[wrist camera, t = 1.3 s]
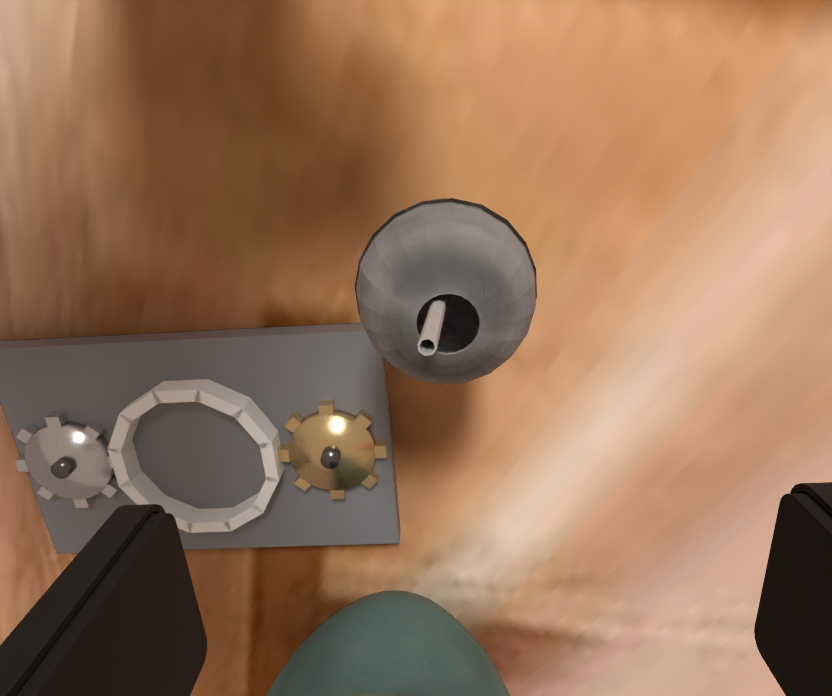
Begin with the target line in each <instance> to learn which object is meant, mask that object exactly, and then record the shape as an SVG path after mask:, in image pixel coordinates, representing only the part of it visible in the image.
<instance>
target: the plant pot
mask: <svg viewBox="0 0 832 696" xmlns="http://www.w3.org/2000/svg"><path fill="white" fill-rule="evenodd" d="M266 696H510V695H509V693H508V691H507V689H506V687H505V685H504V683H503V681H502V679H501V677H500V675H499V673H498V672H497V670H496V668H495V666H494V665H493V663H492V661H491V660H490V658H489V657H488V655H487V654H486V652H485V651H484V649H483V648H482V647H481V646H480V644H479V643H478V642H477V640H476V639H475V638H474V637H473V636H472V635H471V633H470V632H469V631H468V630H467V629H466V628H465V627H464V626H463V625H462V624H461V623H460V622H459V621H457V620H456V619H455V618H454V617H453V616H452V615H451V614H449V613H448V612H447V611H446V610H444V609H443V608H442V607H440V606H439V605H437V604H436V603H434V602H433V601H431V600H429V599H427V598H425V597H423V596H420V595H417V594H414V593H410V592H405V591H384V592H379V593H374V594H371V595H368V596H365V597H363V598H361V599H359V600H357V601H355V602H353V603H351V604H349V605H348V606H346V607H345V608H343V609H341V610H340V611H338V612H337V613H336V614H334V615H333V616H331V617H330V618H329V619H327V620H326V621H325V622H324V623H322V624H321V625H320V626H319V627H318V628H317V629H316V630H315V631H313V632H312V634H311V635H310V636H309V637H308V638H307V639H306V640H305V641H304V642H303V643H302V644H301V645H300V646H299V648H298V649H297V650H296V651H295V653H294V654H293V655H292V656H291V658H290V659H289V660H288V662H287V663H286V664H285V666H284V667H283V669H282V670H281V672H280V673H279V675H278V676H277V678H276V679H275V681H274V682H273V684H272V686H271V687H270V689H269V691H268V693H267V694H266Z"/></svg>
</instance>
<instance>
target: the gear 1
mask: <svg viewBox="0 0 832 696" xmlns="http://www.w3.org/2000/svg"><path fill="white" fill-rule="evenodd" d="M45 420H46V423H47V425H45V426H44V427H42V428H41V429H40V428H39V427H37V426H36V425H34V424H33V423H31V422H30V423H29V424H28V425H26V426H25V427H23V428H22V430H21V431H20V432H19V434H18V435H17V437H16V438H18V439H19V440H21V441H22V442H24V443H27V444H26V446H25V451H24V454H21V455H20V456H19V457H18V458H16V459H15V460H14V461H15V464H16V466H17V469H18V472H27V471H29V472H30V473H31V475H32V476H33V478H34V479H35V480H36V481H37V482H38V483H39V484H40V485H41V486H42V487H41V488H40V489H39V491H38V492H37V493H38V494H39V495H41V496H43V497H44V498H46V499H47V500H50V499H51V498H52V497H53V496H54V495H55V494H56V495H58V496H61V497H64V498H69V499H73V501H74V504H75V507H76V508H89V507H90V506H91V505H92V503H93V502H94V501H95V498H94V496H95V495H97V494H99V493H100V492H101V491H102V490H103V489H104V490H103V491H102V493H103V494H105V495H106V496H108V497H109V498H111V497H112V496H113V494H114V493H115V492H116V491H117V490H118V489H119V485H118V482H117V479H116V478H115V477H114V475H115V472H114V469H113V466H112V462H111V459H110V456H109V453H108V450H107V449H108V446H109V443H108V442H107V441H106V440H105V438H104V437H103V436H101V434H102V433H103V431H104V430H105V429H106V427H105V426H103V425H102V424H100V423H99V422H97V421H96V420H93V421H92V422H91V423H90V424H89V425H87V426H86V425H84V424H81V423H77V422H73V421H69V419H68V416H67V413H66V411H54V412H51V413H50V414H49V415H47V416H46V417H45ZM113 477H114V478H113Z"/></svg>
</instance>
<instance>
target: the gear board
mask: <svg viewBox="0 0 832 696" xmlns="http://www.w3.org/2000/svg"><path fill="white" fill-rule="evenodd" d="M330 399H335V407H336V410H341V411H345V412H348V413H351V414H353V415H356V414H357V413H358V412H359V411H360V410H361V409H362V408H363V409H364V410H366V411H367V412H368V413H369V414H371V415H372V416H373V420H372V423H371V424H370V425H369V426H368V427H369V428H370V430H371V431H372V433H373V435H374V438H375V441H376V440H380V439H386V440H387V450H388V452H387V458H375V463H374V466H373V469H374V470H375V471H376V472H378V473H379V478H378V481H377V482H376V483H375V484H374V485H373V486H372V487H371V488H370V489H368V488H367V487H366V486H364V485H363V484H362V483H359V484H358V485H356V486H354V487H351V488H348V489H346V491H347V492H346V496H345V499H331V493H330V490H326V489H322V488H319V487H316V486H314V485H312V484H311V485H310V486H309V487H308V488H307V489H306V491H303V490H302V489H301V488H299V487H298V486H296V485H295V484H294V482H295V479H296V477H297V476H298V473H297V472H296V471H295V469H294V468H293V466H292V464H291V461H290V462H279V457H278V452H277V449H278V447H279V445H280V443H289V442H290V439H291V437H292V434H293V433H292V432H291V431H290V430H288V429H287V428H286V427H284V425H285V423H286V421H287V420H288V419H289V418H290V416H291V415H292V414H293V413H294V412H295V411H296V412H298V413H299V414H300V415H302V416H303V417H304V418H305V417H307V416H308V415H310V414H312V413H314V412H317V411H319V409H318V405H319V402H320V400H330ZM0 403H1V406H2V408H3V411H4V414H5V416H6V419H7V422H8V424H9V427H10V430H11V432H12V435H13V438H14V440H15V443H16V446H17V448H18V451H19V454H20V455H21V454H24V451H25V446H26V444H27V443H24V442H22V441H21V440H19V439H18V438H16V437H17V435H18V434H19V432H20V431H21V430H22V428H23V427H25V426H26V425H28V424H29V423H30V422H31V423H33V424H34V425H36V426H37V427H39V428H40V429H41V428H42V427H44V426H45V425H47V423H46V420H45V417H46V416H47V415H49V414H50V413H51V412H54V411H66V413H67V416H68V419H69V421H73V422H77V423H81V424H84V425H86V426H87V425H89V424H90V423H91V422H92V421H93V420H96V421H97V422H99V423H100V424H102V425H103V426H105V427H106V429H105V430H104V431H103V433H102V434H101V436H103V437H104V438H105V440H106V441H107V442H108V443H109V446H108V449H107V450H108V453H109V456H110V459H111V462H112V466H113V469H114V472H115V475H114V477H115V478H116V479H117V482H118V485H119V489H118V490H117V491H116V492H115V493H114V494H113V496H112V497H111V498H109V497H108V496H106V495H105V494H103V493H102V491H103V490H104V489H103V490H102V491H101V492H100V493H99V494H97V495H95V496H94V498H95V501H94V502H93V503H92V505H91V506H90V507H89V508H76V507H75V504H74V501H73V499H69V498H64V497H61V496H58V495H56V494H55V495H54V496H53V497H52V498H51V499H50V500H47V499H46V498H44V497H43V496H41V495H39V494H38V493H37V492H38V491H39V489H40V488H41V487H42V486H41V485H40V484H39V483H38V482H37V481H36V480H35V479H34V478H33V476H32V475H31V473H30V472H29V471H27V475H28V478H29V480H30V483H31V486H32V488H33V491H34V494H35V496H36V499H37V502H38V504H39V507H40V510H41V512H42V515H43V518H44V520H45V523H46V526H47V528H48V531H49V534H50V536H51V539H52V542H53V544H54V547H55V550H56V552H57V553H79V552H80V551H81V550H82V549H83V547H84V546H85V545H86V544H87V543H88V542H89V540H90V539H91V538H92V537H93V536H94V534H95V533H96V532H97V531H98V530H99V529H100V527H101V526H102V525H103V524H104V523H105V522H106V520H107V519H108V518H109V517H110V516H111V514H112V513H113V512H114V511H115V510H116V509H117V508H118V507H120V506H123V505H143V504H158V505H161V506H162V507H163V508H164V510H165V513H170V514H172V515H173V516H174V517H175V520H176V523H177V527H178V531H179V535H180V538H181V542H182V546H183V550H190V549H223V548H256V547H290V546H323V545H356V544H389V543H399V539H400V520H399V509H398V498H397V487H396V476H395V464H394V453H393V442H392V431H391V420H390V409H389V398H388V387H387V376H386V365H385V358H384V357H383V356H382V355H381V354H380V353H379V352H378V351H377V350H376V349H375V348H374V347H373V345H372V343H371V341H370V339H369V337H368V335H367V333H366V331H365V329H364V327H363V325H362V323H347V324H327V325H308V326H288V327H268V328H248V329H228V330H208V331H188V332H168V333H149V334H129V335H109V336H89V337H69V338H49V339H29V340H9V341H0ZM114 477H113V478H114Z"/></svg>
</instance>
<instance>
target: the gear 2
mask: <svg viewBox="0 0 832 696" xmlns="http://www.w3.org/2000/svg"><path fill="white" fill-rule="evenodd" d="M318 409H319V411H317V412H314V413H312V414H310V415H308V416H307V417H305V418H304V417H303V416H302V415H300V414H299V413H298V412H296V411H295V412H294V413H293V414H292V415H291V416H290V418H289V419H288V420H287V421H286V423H285V425H284V427H286V428H287V429H288V430H290V431H291V432H292V433H293V434H292V437H291V439H290V442H289V443H280V445H279V447H278V449H277V452H278V457H279V462H290V461H291V464H292V466H293V468H294V469H295V471H296V472H297V473H298V476H297V477H296V479H295V482H294V484H295V485H296V486H298V487H299V488H301V489H302V490H303V491H306V489H307V488H308V487H309V486H310V485H311V484H312V485H314V486H316V487H319V488H322V489H326V490H330V493H331V499H345V496H346V492H347V491H346V489H348V488H351V487H354V486H356V485H358V484H359V483H362V484H363V485H364V486H366V487H367V488H368V489H370V488H371V487H372V486H373V485H374V484H375V483H376V482H377V481H378V478H379V473H378V472H376V471H375V470H374V469H373V466H374V463H375V458H387V452H388V450H387V440H386V439H380V440H376V441H375V438H374V435H373V433H372V431H371V430H370V428H369V427H368V426H369V425H370V424H371V423H372V420H373V416H372V415H371V414H369V413H368V412H367V411H366V410H364V409H363V408H362V409H361V410H360V411H359V412H358V413H357V414H356V415H353V414H351V413H348V412H345V411H341V410H336V407H335V399H330V400H320V402H319V405H318Z"/></svg>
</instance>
